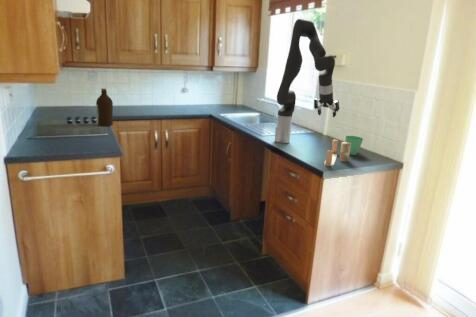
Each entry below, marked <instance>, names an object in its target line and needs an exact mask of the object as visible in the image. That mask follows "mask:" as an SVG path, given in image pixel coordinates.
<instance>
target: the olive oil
mask: <svg viewBox="0 0 476 317" xmlns="http://www.w3.org/2000/svg"><path fill="white" fill-rule="evenodd" d="M100 92H101V94H100V95H99V97H98V98H97V99H96V102H95V103H96V105H95V106H96V115H97V125H98V126H99V127H111V126H113V125H114V124H113V120H114V119H113V115H114V114H113V112H114V111H113V108H114V107H113V104H114V103H113V100H112V99H111V97H110V96H109V95H108V92H107V88H101V91H100Z"/></svg>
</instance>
